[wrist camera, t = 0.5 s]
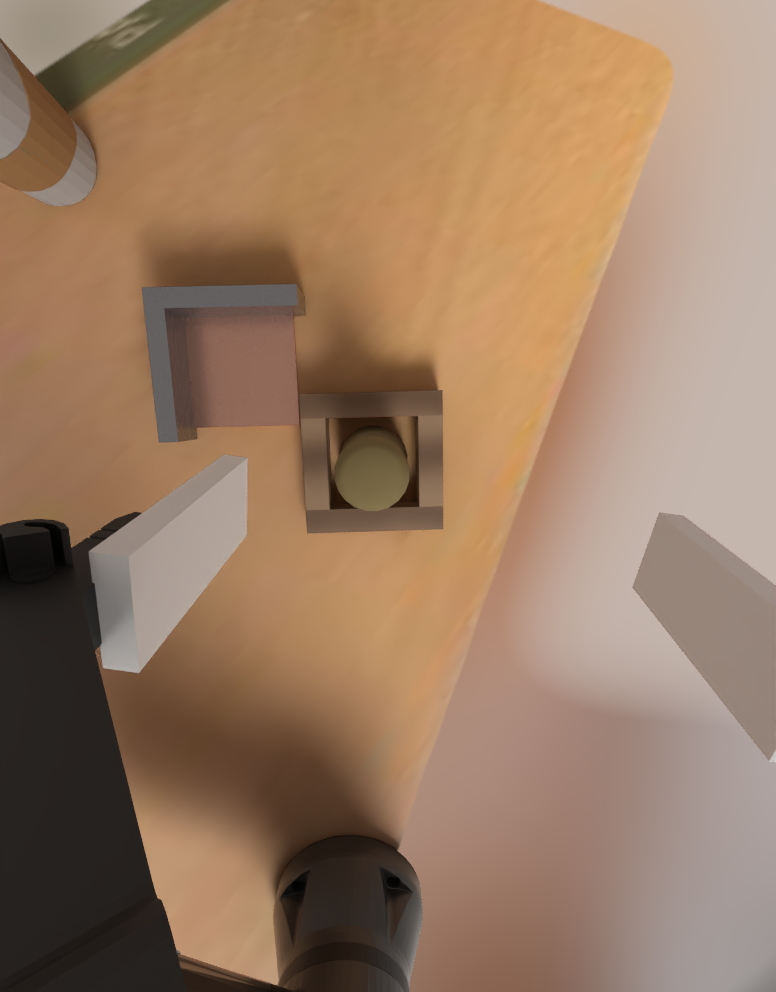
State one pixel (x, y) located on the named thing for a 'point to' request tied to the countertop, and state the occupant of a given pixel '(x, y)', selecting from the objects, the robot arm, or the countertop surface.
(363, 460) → the olive stamp handle
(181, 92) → the countertop surface
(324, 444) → the socket block
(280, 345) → the corner cradle
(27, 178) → the coffee cup
